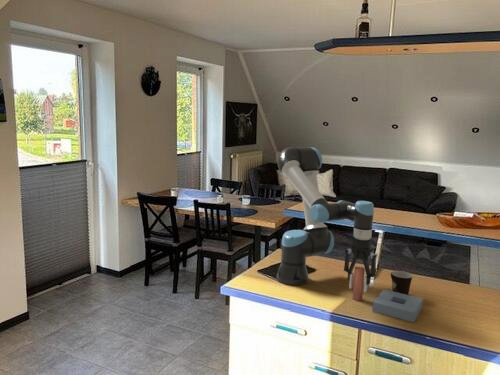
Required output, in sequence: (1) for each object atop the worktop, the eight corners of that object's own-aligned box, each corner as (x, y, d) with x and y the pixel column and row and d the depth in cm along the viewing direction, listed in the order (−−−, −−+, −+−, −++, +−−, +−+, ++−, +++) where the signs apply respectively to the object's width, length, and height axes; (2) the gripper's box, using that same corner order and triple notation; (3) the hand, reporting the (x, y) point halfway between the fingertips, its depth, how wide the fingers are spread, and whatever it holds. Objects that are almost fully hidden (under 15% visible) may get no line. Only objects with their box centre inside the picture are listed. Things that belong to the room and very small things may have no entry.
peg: (351, 299, 181) (353, 268, 179) (354, 296, 185) (356, 265, 182) (360, 301, 179) (362, 270, 177) (363, 298, 183) (365, 267, 180)
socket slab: (372, 311, 171) (373, 302, 170) (383, 297, 184) (384, 289, 183) (413, 322, 162) (414, 312, 161) (421, 307, 175) (422, 298, 175)
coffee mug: (411, 300, 182) (414, 278, 180) (391, 298, 183) (393, 276, 182) (407, 290, 193) (409, 269, 191) (387, 288, 195) (389, 267, 193)
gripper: (337, 235, 179) (334, 287, 183) (381, 243, 169) (377, 298, 173) (344, 232, 185) (340, 281, 189) (386, 239, 176) (382, 292, 179)
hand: (358, 289), depth 181 cm, fingers open, 6 cm apart
